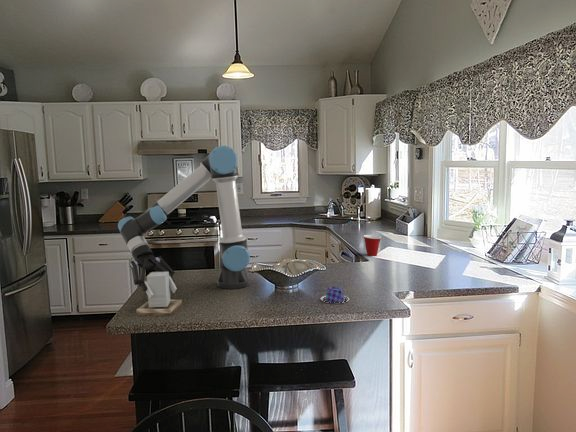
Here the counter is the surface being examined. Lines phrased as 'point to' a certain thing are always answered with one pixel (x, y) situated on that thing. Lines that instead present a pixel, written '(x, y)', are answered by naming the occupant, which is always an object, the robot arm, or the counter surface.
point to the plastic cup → (372, 244)
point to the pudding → (334, 295)
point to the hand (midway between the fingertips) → (163, 293)
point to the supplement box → (159, 289)
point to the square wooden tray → (159, 308)
